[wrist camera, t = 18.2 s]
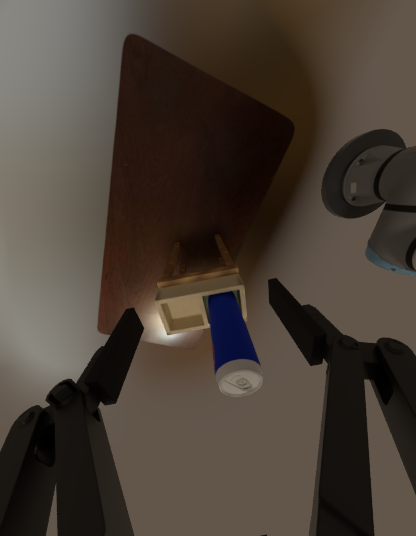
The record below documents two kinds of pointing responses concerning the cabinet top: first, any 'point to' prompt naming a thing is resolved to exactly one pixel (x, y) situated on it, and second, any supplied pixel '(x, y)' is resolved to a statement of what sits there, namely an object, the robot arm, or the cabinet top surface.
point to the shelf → (183, 278)
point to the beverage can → (232, 347)
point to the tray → (195, 302)
